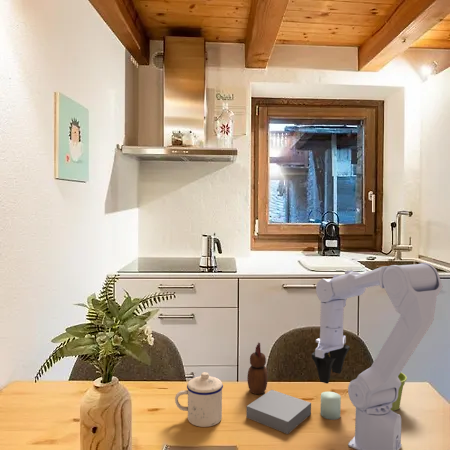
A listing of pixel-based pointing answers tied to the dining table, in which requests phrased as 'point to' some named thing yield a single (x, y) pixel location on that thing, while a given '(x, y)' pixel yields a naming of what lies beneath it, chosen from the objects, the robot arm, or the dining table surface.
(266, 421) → the gray square block
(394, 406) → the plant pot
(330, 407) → the sage cylinder
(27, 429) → the dining table surface
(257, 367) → the wooden figurine
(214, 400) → the teacup with lid
